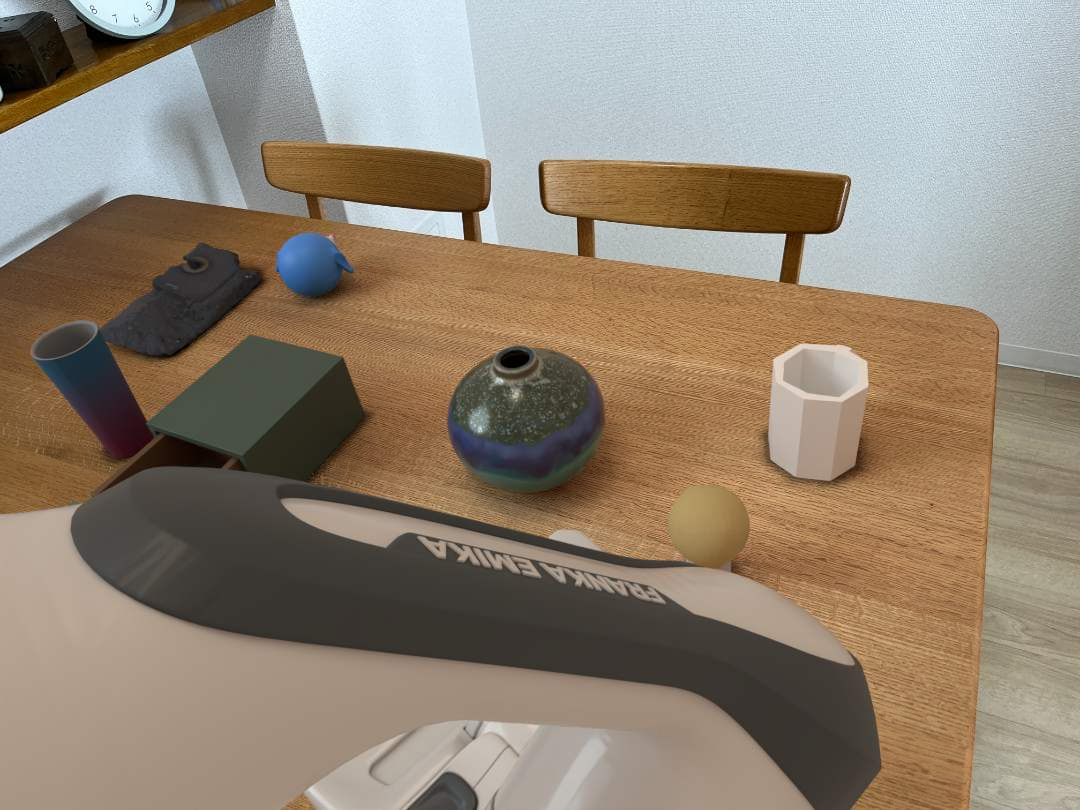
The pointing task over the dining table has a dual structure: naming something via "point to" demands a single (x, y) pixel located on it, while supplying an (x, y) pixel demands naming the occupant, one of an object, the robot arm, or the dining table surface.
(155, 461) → the drawer
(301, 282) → the blue mole toy
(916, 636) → the dining table surface
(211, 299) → the dark slate chunk
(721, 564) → the light bulb
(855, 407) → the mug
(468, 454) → the vase
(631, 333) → the dining table surface
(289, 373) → the cabinet
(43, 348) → the cup
